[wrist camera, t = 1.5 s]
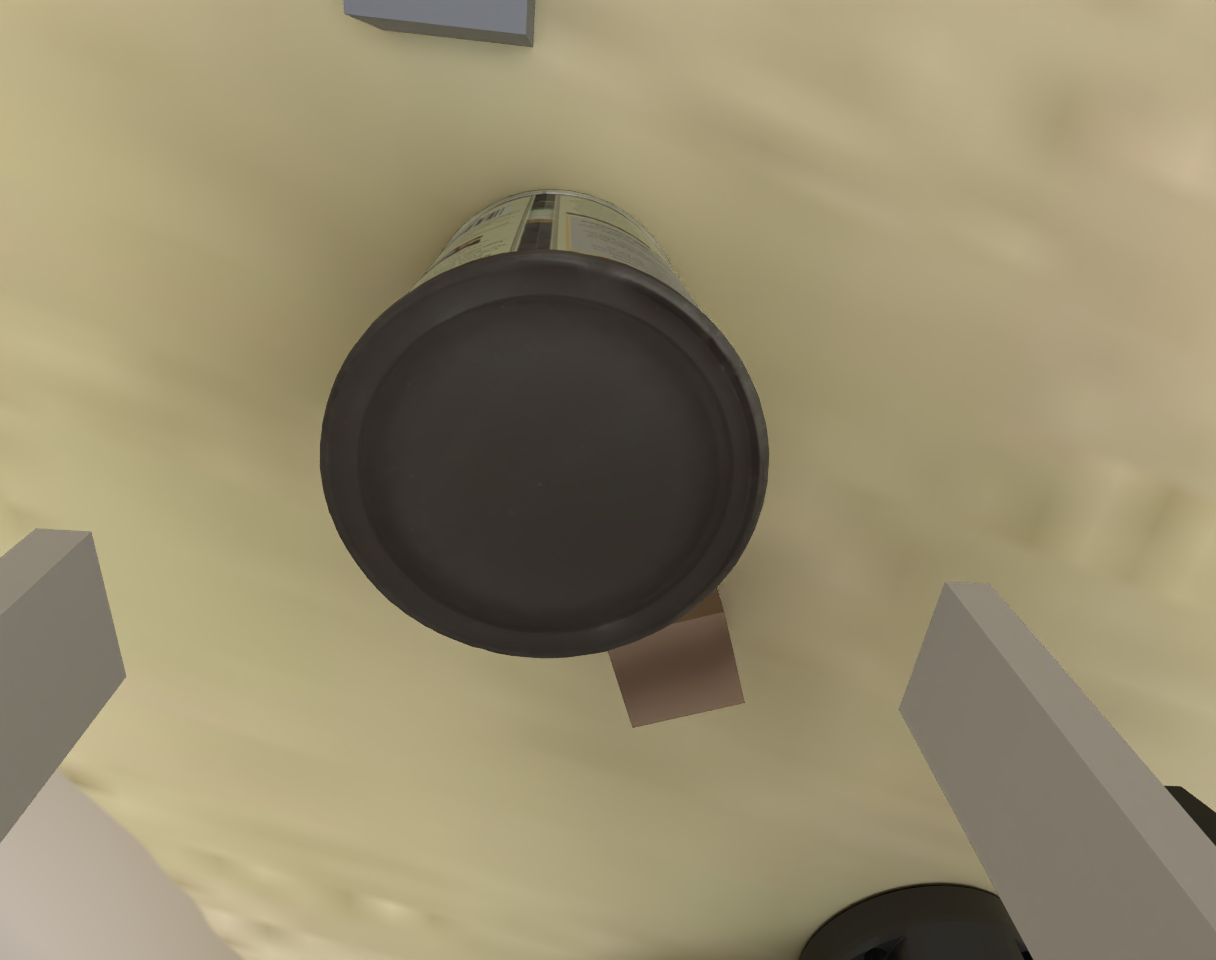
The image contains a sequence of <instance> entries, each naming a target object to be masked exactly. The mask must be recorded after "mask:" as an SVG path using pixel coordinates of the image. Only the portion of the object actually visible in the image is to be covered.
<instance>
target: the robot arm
mask: <svg viewBox="0 0 1216 960" xmlns="http://www.w3.org/2000/svg"><path fill="white" fill-rule="evenodd" d="M125 678H126V673H125V669H124V665H123V661H122V657H121V653H120V648H119V644H118V640H117V636H116V632H115V628H114V624H113V619H112V615H111V611H110V607H109V603H108V599H107V595H106V590H105V586H104V582H103V578H102V574H101V570H100V566H99V561H98V557H97V553H96V549H95V545H94V541H93V537H92V532H88V531H71V530H54V529H37V528H36V529H35V530H33V531H32V532H31V533H30V534H29V535H27V536H26V537H25V538H24V539H23V540H21V541H20V542H19V543H18V544H16V545H15V546H14V547H13V548H12V549H10V550H9V551H8V552H7V553H5V554H4V555H3V556H2V557H1V558H0V843H1V842H2V840H3V839H4V838H5V836H6V835H7V834H8V832H9V831H10V829H11V828H12V827H13V826H14V824H15V823H16V822H17V820H18V819H19V817H20V816H21V815H22V814H23V812H24V811H25V810H26V808H27V807H28V806H29V805H30V803H31V802H32V800H33V799H34V798H35V797H36V795H37V794H38V793H39V791H40V790H41V789H42V787H43V786H44V785H45V783H46V782H47V781H48V779H49V778H50V777H51V775H52V774H53V773H54V772H55V770H56V769H57V768H58V766H59V765H60V764H61V762H62V761H63V760H64V758H65V757H66V756H67V754H68V753H69V752H70V750H71V749H72V748H73V746H74V745H75V744H76V742H77V741H78V740H79V738H80V737H81V736H82V734H83V733H84V732H85V731H86V729H87V728H88V727H89V725H90V724H91V723H92V721H93V720H94V719H95V717H96V716H97V715H98V713H99V712H100V711H101V709H102V708H103V707H104V705H105V704H106V703H107V701H108V700H109V699H110V697H111V696H112V695H113V693H114V692H115V691H116V690H117V688H118V687H119V686H120V684H121V683H122V682H123V680H124V679H125ZM899 711H900V713H901V714H902V716H903V718H904V720H905V722H906V724H907V726H908V727H909V729H910V731H911V733H912V735H913V737H914V739H915V740H916V742H917V744H918V746H919V748H920V750H921V752H922V753H923V755H924V757H925V759H926V761H927V763H928V765H929V767H930V768H931V770H932V772H933V774H934V776H935V778H936V780H937V781H938V783H939V785H940V787H941V789H942V791H943V793H944V794H945V796H946V798H947V800H948V802H949V804H950V806H951V807H952V809H953V811H954V813H955V815H956V817H957V819H958V820H959V822H960V824H961V826H962V828H963V830H964V832H965V833H966V835H967V837H968V839H969V841H970V843H971V845H972V847H973V848H974V850H975V852H976V854H977V856H978V858H979V860H980V861H981V863H982V865H983V867H984V869H985V871H986V873H987V874H988V876H989V878H990V880H991V882H992V884H993V886H994V887H995V889H996V891H997V893H998V895H999V897H1000V898H998V897H996V896H994V895H991V894H989V893H986V892H983V891H979V890H975V889H971V888H965V887H956V886H927V887H917V888H911V889H905V890H900V891H896V892H892V893H888V894H885V895H882V896H879V897H876V898H873V899H870V900H868V901H865V902H863V903H861V904H859V905H857V906H855V907H853V908H851V909H849V910H847V911H845V912H844V913H842V914H840V915H839V916H837V917H836V918H834V919H833V920H832V921H830V922H829V923H828V924H827V925H825V926H824V927H823V928H822V929H821V930H820V931H819V932H818V933H817V934H816V935H815V936H814V937H813V938H812V940H811V941H810V942H809V944H808V945H807V947H806V948H805V950H804V952H803V954H802V956H801V958H800V960H1216V813H1215V812H1214V811H1213V810H1211V809H1210V808H1209V807H1207V806H1206V805H1205V804H1204V803H1202V802H1201V801H1200V800H1198V799H1197V798H1196V797H1194V796H1193V795H1192V794H1190V793H1189V792H1188V791H1186V790H1185V789H1184V788H1182V787H1181V786H1163V784H1162V783H1161V782H1160V781H1159V780H1158V779H1157V777H1156V776H1155V775H1154V774H1153V773H1152V772H1151V770H1150V769H1149V768H1148V767H1147V766H1146V765H1145V763H1144V762H1143V761H1142V760H1141V759H1140V758H1139V757H1138V755H1137V754H1136V753H1135V752H1134V751H1133V750H1132V748H1131V747H1130V746H1129V745H1128V744H1127V743H1126V741H1125V740H1124V739H1123V738H1122V737H1121V736H1120V734H1119V733H1118V732H1117V731H1116V730H1115V729H1114V727H1113V726H1112V725H1111V724H1110V723H1109V722H1108V720H1107V719H1106V718H1105V717H1104V716H1103V715H1102V714H1101V712H1100V711H1099V710H1098V709H1097V708H1096V707H1095V705H1094V704H1093V703H1092V702H1091V701H1090V700H1089V698H1088V697H1087V696H1086V695H1085V694H1084V693H1083V691H1082V690H1081V689H1080V688H1079V687H1078V686H1077V684H1076V683H1075V682H1074V681H1073V680H1072V679H1071V678H1070V676H1069V675H1068V674H1067V673H1066V672H1065V671H1064V669H1063V668H1062V667H1061V666H1060V665H1059V664H1058V662H1057V661H1056V660H1055V659H1054V658H1053V657H1052V655H1051V654H1050V653H1049V652H1048V651H1047V650H1046V648H1045V647H1044V646H1043V645H1042V644H1041V643H1040V641H1039V640H1038V639H1037V638H1036V637H1035V636H1034V635H1033V633H1032V632H1031V631H1030V630H1029V629H1028V628H1027V626H1026V625H1025V624H1024V623H1023V622H1022V621H1021V619H1020V618H1019V617H1018V616H1017V615H1016V614H1015V612H1014V611H1013V610H1012V609H1011V608H1010V607H1009V605H1008V604H1007V603H1006V602H1005V601H1004V600H1003V598H1002V597H1001V596H1000V595H999V594H998V593H997V592H996V590H995V589H994V588H993V587H992V586H991V585H990V584H979V583H962V582H945V584H944V586H943V589H942V592H941V595H940V597H939V600H938V603H937V606H936V608H935V611H934V614H933V617H932V619H931V622H930V625H929V628H928V630H927V633H926V636H925V639H924V641H923V644H922V647H921V650H920V653H919V655H918V658H917V661H916V664H915V666H914V669H913V672H912V675H911V677H910V680H909V683H908V686H907V688H906V691H905V694H904V697H903V699H902V702H901V705H900V708H899Z"/></svg>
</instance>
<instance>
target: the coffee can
mask: <svg viewBox="0 0 1216 960" xmlns="http://www.w3.org/2000/svg"><path fill="white" fill-rule="evenodd" d="M768 466H769V446H768V436H767V428H766V423H765V419H764V415H763V411H762V408H761V404H760V400H759V397H758V394H757V392H756V389H755V387H754V385H753V383H752V381H751V378H750V376H749V374H748V372H747V370H746V368H745V366H744V364H743V362H742V361H741V359H740V357H739V356H738V354H737V353H736V351H735V350H734V348H733V347H732V346H731V344H730V343H729V342H728V340H727V339H726V338H725V336H724V335H723V334H722V333H721V332H720V330H719V329H718V328H717V327H716V326H715V325H714V324H713V323H712V322H711V321H710V320H709V318H708V317H707V316H706V315H705V314H703V313H702V312H701V311H700V309H699V308H698V306H697V305H696V304H695V302H694V301H693V299H692V298H691V296H690V295H689V293H688V292H687V290H686V288H685V287H684V285H683V284H682V283H681V281H680V280H679V278H678V277H677V275H676V274H675V272H674V271H673V269H672V266H671V264H670V262H669V260H668V259H667V257H666V255H665V253H664V252H663V250H662V249H661V247H660V246H659V245H658V243H657V242H656V241H655V239H654V238H653V236H652V235H651V234H650V233H649V232H648V231H647V230H646V229H645V228H644V227H643V226H642V225H640V224H639V223H638V222H637V221H636V220H635V219H633V218H632V217H631V216H629V215H628V214H627V213H625V212H623V211H622V210H620V209H619V208H617V207H616V206H615V205H613V204H611V203H609V202H606V201H603V200H600V199H598V198H595V197H593V196H590V195H587V194H582V193H578V192H573V191H567V190H538V191H530V192H524V193H520V194H517V195H514V196H508V197H506V198H505V199H503V200H500V201H498V202H496V203H494V204H492V205H490V206H489V207H487V208H485V209H483V210H482V211H481V212H479V213H478V214H476V215H475V216H473V217H472V218H471V219H470V220H469V221H468V222H466V223H465V224H464V225H463V226H462V227H461V228H460V229H459V230H458V231H457V232H456V234H455V235H454V236H453V237H452V238H451V240H450V241H449V242H448V244H447V245H446V246H445V248H444V249H443V251H442V252H441V254H440V256H439V257H438V258H437V259H436V261H435V262H434V263H433V264H432V265H431V267H430V268H429V269H428V270H427V271H426V273H425V274H424V275H423V276H422V277H421V279H420V280H419V281H418V282H417V283H416V284H415V285H414V286H413V288H412V289H411V290H410V291H409V292H408V293H407V295H405V296H404V297H402V298H401V299H399V300H398V301H397V302H396V303H394V304H393V305H392V306H391V307H390V308H388V309H387V310H386V311H385V312H384V313H383V314H381V315H380V316H379V317H378V318H377V319H376V320H375V321H374V322H373V323H372V325H371V326H370V327H369V328H368V329H367V331H366V332H365V333H364V334H363V336H362V337H361V338H360V339H359V341H358V342H357V343H356V344H355V346H354V347H353V349H352V350H351V351H350V353H349V354H348V356H347V358H346V360H345V361H344V363H343V365H342V367H341V369H340V371H339V373H338V375H337V377H336V379H335V382H334V384H333V387H332V390H331V393H330V396H329V399H328V402H327V406H326V410H325V415H324V419H323V424H322V433H321V442H320V471H321V478H322V485H323V490H324V495H325V499H326V502H327V505H328V509H329V513H330V514H331V516H332V519H333V521H334V524H335V527H336V529H337V531H338V533H339V535H340V537H341V539H342V541H343V543H344V545H345V546H346V548H347V550H348V551H349V553H350V554H351V556H352V557H353V559H354V560H355V562H356V563H357V565H358V566H359V567H360V569H361V570H362V571H363V572H364V574H365V575H366V577H367V578H368V579H369V580H370V581H371V582H372V583H373V584H374V586H375V587H376V588H377V589H378V590H379V591H380V592H381V593H382V594H383V595H384V596H385V597H386V598H387V599H388V600H389V601H390V602H392V603H393V604H394V605H396V606H397V607H398V608H399V609H401V610H402V611H403V612H404V613H406V614H407V615H409V616H410V617H412V618H413V619H415V620H417V621H418V622H420V623H421V624H423V625H424V626H426V627H428V628H431V629H433V630H434V631H436V632H438V633H440V634H442V635H444V636H447V637H449V638H451V639H454V640H457V641H459V642H462V643H464V644H467V645H469V646H472V647H476V648H482V649H485V650H488V651H491V652H495V653H499V654H505V655H511V656H520V657H532V658H564V657H574V656H581V655H587V654H594V653H600V652H605V651H609V650H612V649H615V648H619V647H622V646H625V645H628V644H631V643H633V642H636V641H638V640H641V639H643V638H645V637H647V636H649V635H652V634H654V633H656V632H658V631H660V630H662V629H664V628H665V627H667V626H669V625H671V624H673V623H674V622H676V621H677V620H679V619H680V618H681V617H683V616H684V615H686V614H687V613H689V612H690V611H691V610H693V609H694V608H695V607H696V606H698V605H699V604H700V603H701V602H702V601H703V600H704V599H705V598H707V597H708V596H709V595H710V594H711V593H712V592H713V591H714V589H715V588H716V587H717V586H718V585H719V584H720V583H721V582H722V581H723V579H724V578H725V577H726V576H727V575H728V574H729V572H730V571H731V570H732V568H733V567H734V566H735V565H736V563H737V561H738V560H739V558H740V556H741V555H742V553H743V551H744V550H745V548H746V546H747V544H748V542H749V540H750V538H751V536H752V534H753V532H754V530H755V527H756V524H757V521H758V518H759V515H760V512H761V509H762V506H763V502H764V497H765V492H766V487H767V481H768Z"/></svg>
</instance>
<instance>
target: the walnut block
mask: <svg viewBox="0 0 1216 960" xmlns="http://www.w3.org/2000/svg"><path fill="white" fill-rule="evenodd" d="M608 653H609V656H610V659H611V662H612V665H613V668H614V672H615V675H616V678H617V681H618V684H619V687H620V690H621V693H622V696H623V699H624V703H625V706H626V709H627V712H628V715H629V718H630V721H631V724H632V727H633V728H634V727H639V726H643V725H648V724H652V723H657V722H661V721H665V720H670V719H674V718H679V717H683V716H688V715H692V714H697V713H701V712H706V711H710V710H715V709H719V708H724V707H728V706H733V705H737V704H742V703H745V702H744V697H743V693H742V688H741V684H740V680H739V675H738V671H737V666H736V662H735V658H734V653H733V649H732V644H731V640H730V636H729V631H728V627H727V622H726V618H725V614H724V610H723V607H722V603H721V600H720V597H719V593H718V590H717V587H716V588H715V589H714V591H713V592H712V593H711V594H710V595H709V596H708V597H707V598H705V599H704V600H703V601H702V602H701V603H700V604H699V605H698V606H696V607H695V608H694V609H693V610H691V611H690V612H689V613H687V614H686V615H684V616H683V617H681V618H680V619H679V620H677V621H676V622H674V623H673V624H671V625H669V626H667V627H665V628H664V629H662V630H660V631H658V632H656V633H654V634H652V635H649V636H647V637H645V638H643V639H641V640H638V641H636V642H633V643H631V644H628V645H625V646H622V647H619V648H615V649H612V650H609V651H608Z"/></svg>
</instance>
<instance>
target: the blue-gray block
mask: <svg viewBox="0 0 1216 960" xmlns="http://www.w3.org/2000/svg"><path fill="white" fill-rule="evenodd" d="M344 14H346V15H349V16H351V17H353V18H356V19H358V20H361V21H363V22H365V23H368V24H370V25H373V26H375V27H377V28H380V29H382V30H388V31H396V32H405V33H414V34H423V35H431V36H440V37H449V38H458V39H466V40H475V41H484V42H493V43H502V44H510V45H519V46H528V47H533V37H534V16H535V0H344Z"/></svg>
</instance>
